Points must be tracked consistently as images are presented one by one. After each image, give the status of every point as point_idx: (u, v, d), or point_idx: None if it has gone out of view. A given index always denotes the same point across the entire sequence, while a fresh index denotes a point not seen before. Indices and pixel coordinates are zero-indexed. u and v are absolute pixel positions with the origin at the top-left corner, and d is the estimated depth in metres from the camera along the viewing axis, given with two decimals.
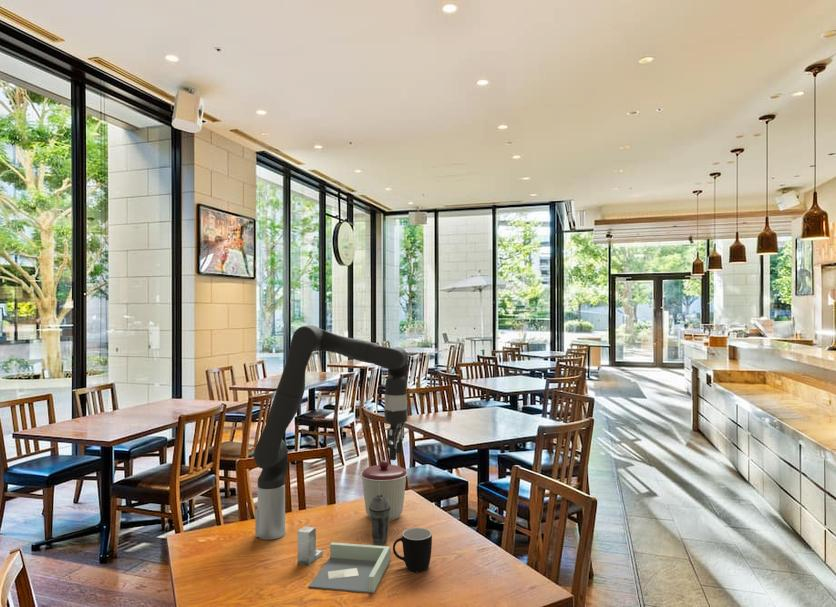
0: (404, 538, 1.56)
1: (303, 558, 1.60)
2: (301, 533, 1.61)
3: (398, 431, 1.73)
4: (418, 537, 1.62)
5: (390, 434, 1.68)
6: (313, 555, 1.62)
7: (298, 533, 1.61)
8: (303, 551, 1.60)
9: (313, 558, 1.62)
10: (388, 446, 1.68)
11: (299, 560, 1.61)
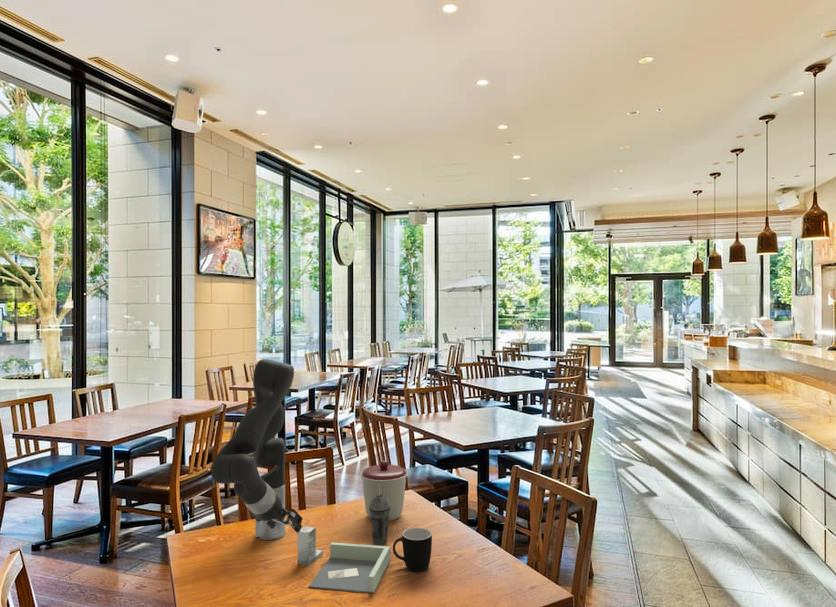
0: (404, 538, 1.56)
1: (303, 558, 1.60)
2: (301, 533, 1.61)
3: None
4: (418, 537, 1.62)
5: None
6: (313, 555, 1.62)
7: (298, 533, 1.61)
8: (303, 551, 1.60)
9: (313, 558, 1.62)
10: None
11: (299, 560, 1.61)
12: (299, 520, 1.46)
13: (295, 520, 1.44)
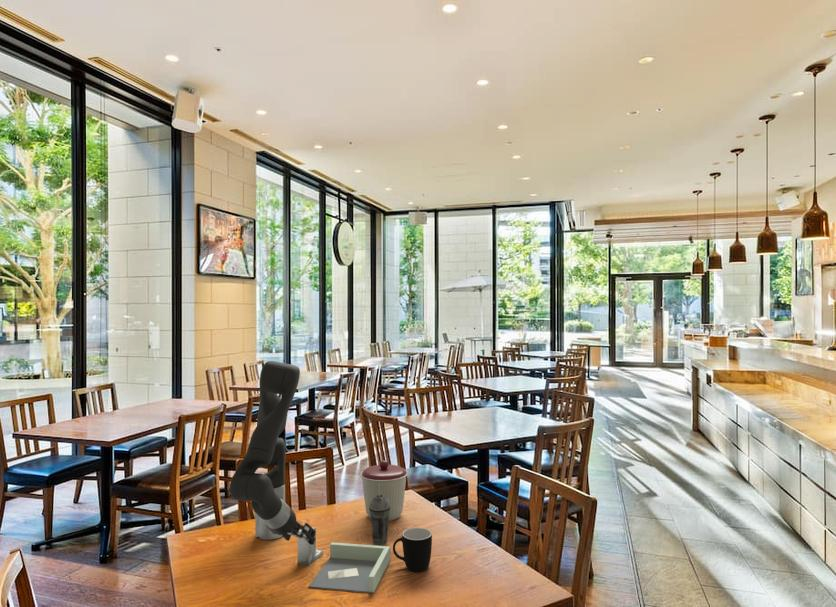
0: (404, 538, 1.56)
1: (303, 558, 1.60)
2: None
3: None
4: (418, 537, 1.62)
5: None
6: (313, 555, 1.62)
7: (298, 533, 1.61)
8: (303, 551, 1.60)
9: (313, 558, 1.62)
10: None
11: (299, 560, 1.61)
12: (313, 534, 1.54)
13: (309, 534, 1.52)
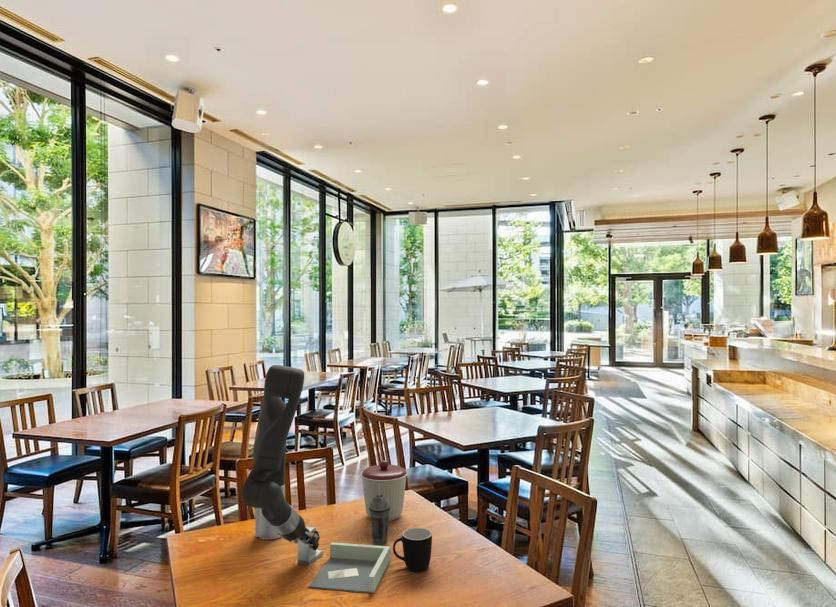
0: (404, 538, 1.56)
1: (303, 558, 1.60)
2: None
3: None
4: (418, 537, 1.62)
5: None
6: (313, 555, 1.62)
7: None
8: (303, 551, 1.60)
9: (313, 557, 1.62)
10: None
11: (299, 560, 1.61)
12: (316, 539, 1.59)
13: (316, 541, 1.57)
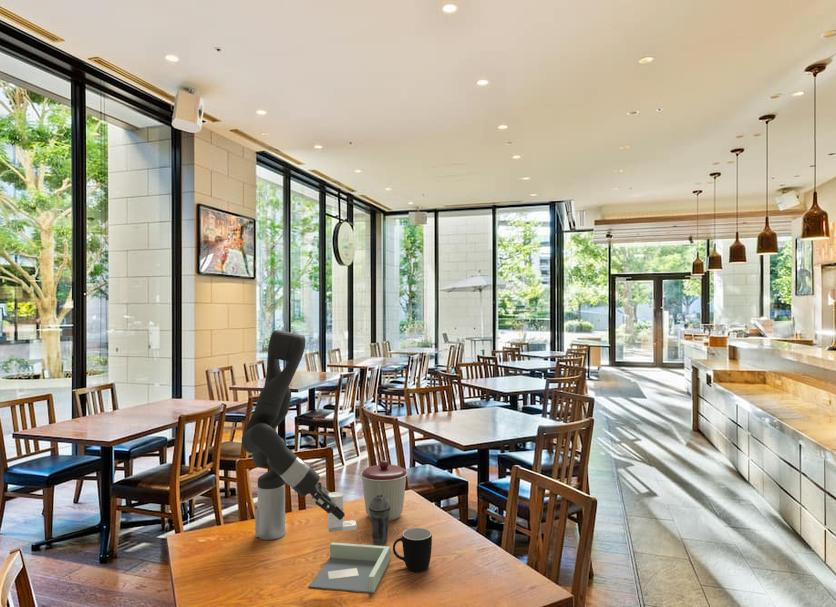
0: (404, 538, 1.56)
1: (328, 523, 1.53)
2: None
3: None
4: (418, 537, 1.62)
5: None
6: (338, 524, 1.52)
7: None
8: (328, 515, 1.53)
9: (338, 527, 1.52)
10: None
11: None
12: (330, 507, 1.49)
13: (323, 507, 1.47)
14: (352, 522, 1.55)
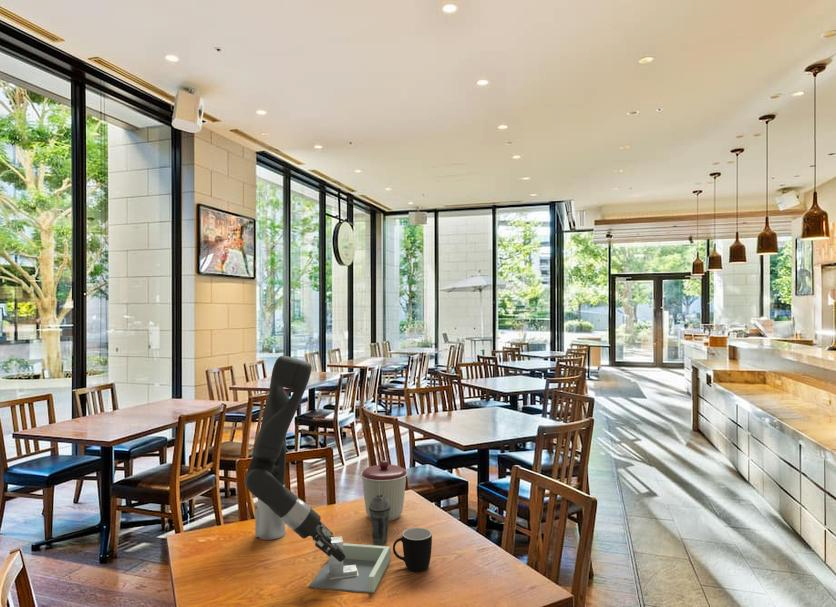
0: (404, 538, 1.56)
1: None
2: None
3: None
4: (418, 537, 1.62)
5: None
6: (338, 570, 1.51)
7: None
8: None
9: (339, 573, 1.52)
10: None
11: None
12: (330, 550, 1.48)
13: (322, 549, 1.46)
14: (353, 567, 1.55)
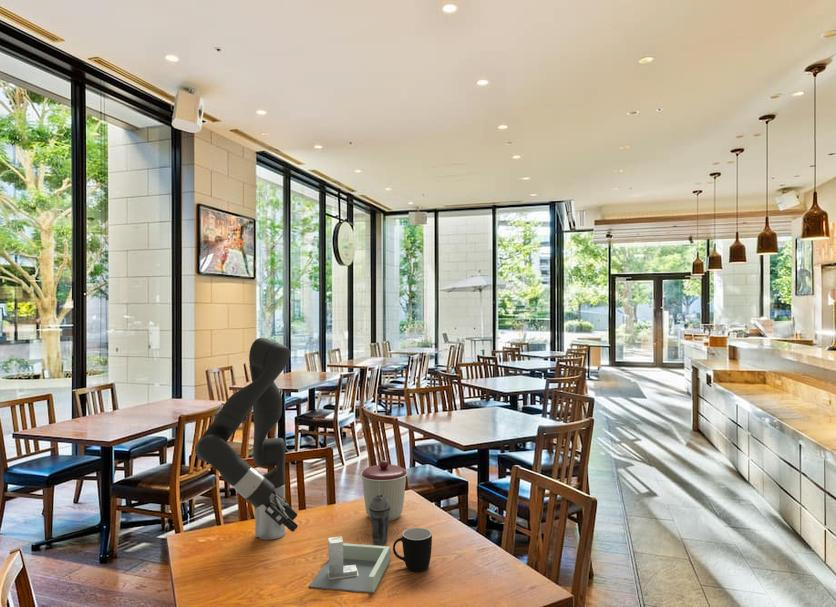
0: (404, 538, 1.56)
1: None
2: (328, 541, 1.53)
3: None
4: (418, 537, 1.62)
5: None
6: (338, 570, 1.51)
7: (328, 541, 1.55)
8: None
9: (339, 573, 1.52)
10: None
11: None
12: (281, 518, 1.44)
13: (272, 516, 1.43)
14: (353, 567, 1.55)
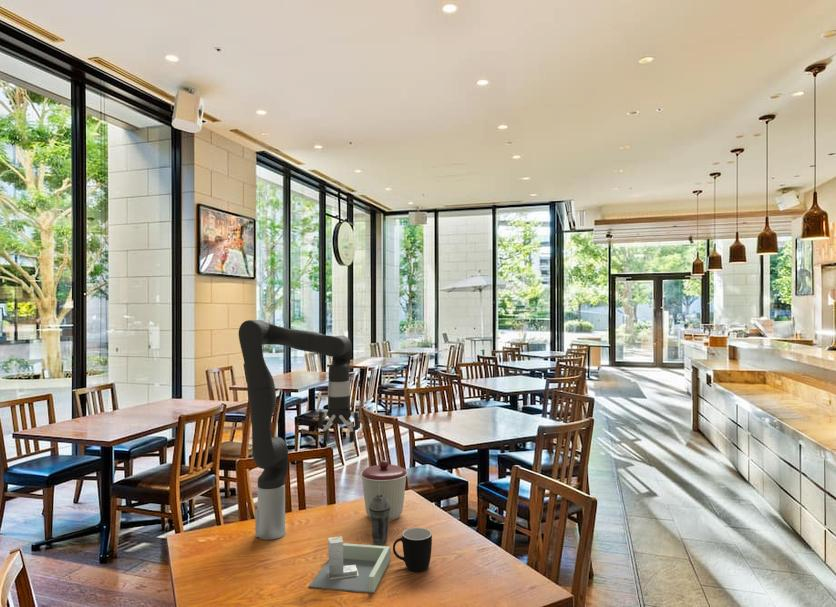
0: (404, 538, 1.56)
1: None
2: (328, 541, 1.53)
3: (331, 416, 1.78)
4: (418, 537, 1.62)
5: None
6: (338, 570, 1.51)
7: (328, 541, 1.55)
8: None
9: (339, 573, 1.52)
10: None
11: None
12: None
13: (358, 419, 1.77)
14: (353, 567, 1.55)
